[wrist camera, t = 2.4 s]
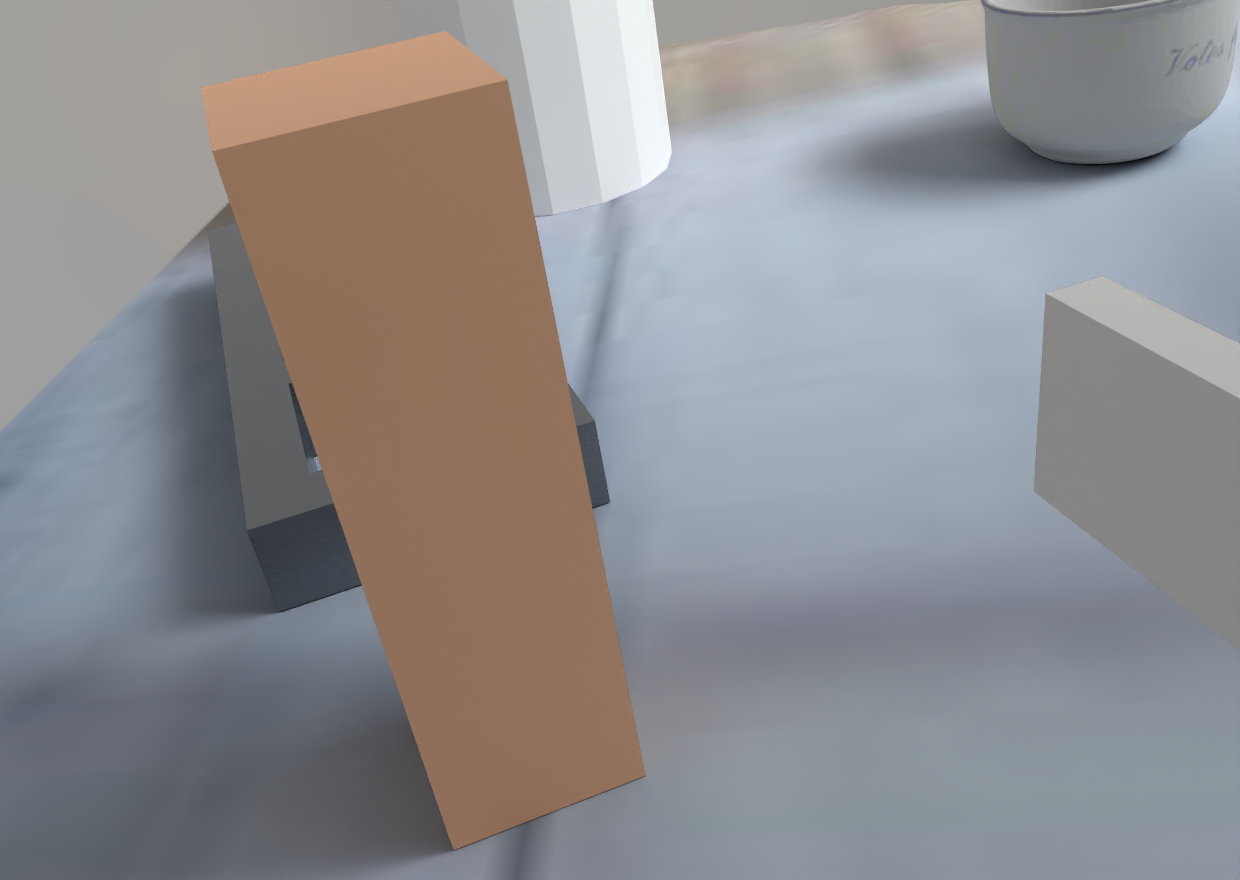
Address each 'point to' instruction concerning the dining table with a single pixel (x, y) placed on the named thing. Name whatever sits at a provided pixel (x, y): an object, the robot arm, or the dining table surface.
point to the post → (438, 411)
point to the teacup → (1107, 72)
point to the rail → (297, 444)
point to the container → (567, 88)
